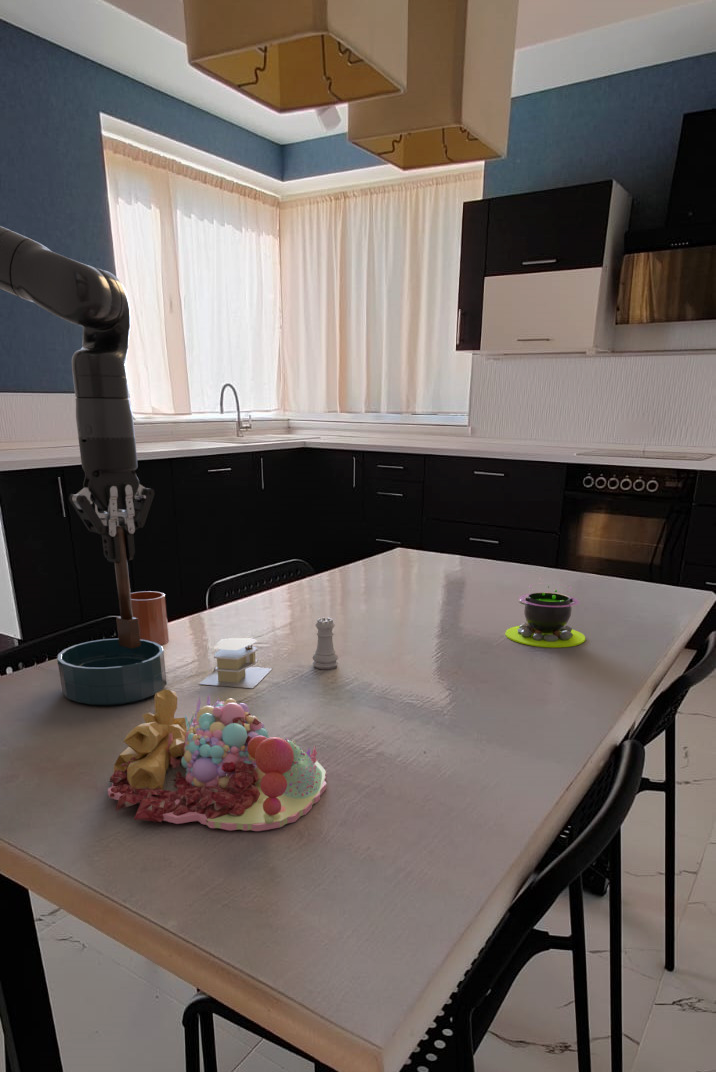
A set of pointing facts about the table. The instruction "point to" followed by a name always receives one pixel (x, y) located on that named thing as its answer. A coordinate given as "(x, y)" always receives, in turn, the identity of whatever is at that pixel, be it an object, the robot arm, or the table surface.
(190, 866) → the table surface
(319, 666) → the rook chess piece
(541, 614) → the toy cauldron
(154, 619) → the crock
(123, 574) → the stirring stick
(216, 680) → the stacked layers on plate
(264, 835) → the table surface
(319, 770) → the pastel sphere sculpture
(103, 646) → the bowl
